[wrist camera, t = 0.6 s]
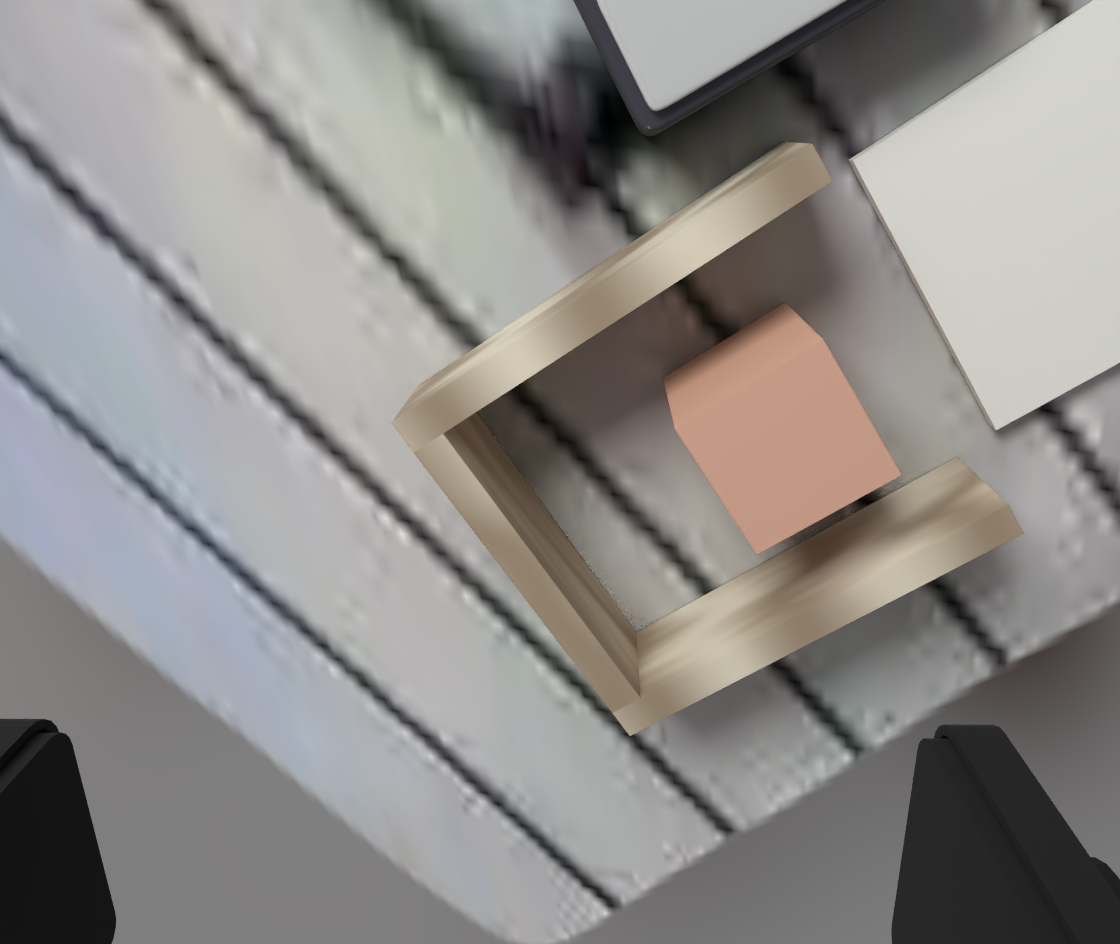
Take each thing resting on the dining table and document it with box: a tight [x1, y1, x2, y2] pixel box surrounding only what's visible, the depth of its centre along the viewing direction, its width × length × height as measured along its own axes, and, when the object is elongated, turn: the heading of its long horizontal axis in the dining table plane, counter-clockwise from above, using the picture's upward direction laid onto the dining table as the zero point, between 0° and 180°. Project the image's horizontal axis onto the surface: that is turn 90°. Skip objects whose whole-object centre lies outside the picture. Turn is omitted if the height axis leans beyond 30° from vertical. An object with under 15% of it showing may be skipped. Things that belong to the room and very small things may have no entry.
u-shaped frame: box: [391, 142, 1024, 736], centre depth 31 cm, size 15×14×4 cm
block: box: [663, 302, 902, 554], centre depth 30 cm, size 5×5×6 cm
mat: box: [848, 0, 1120, 430], centre depth 30 cm, size 9×11×1 cm
